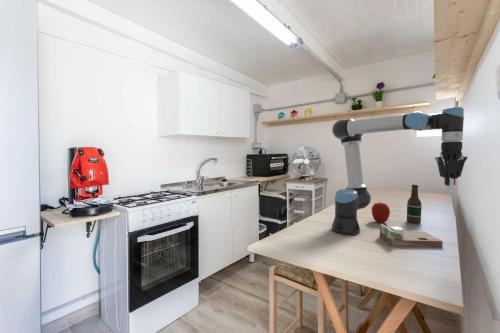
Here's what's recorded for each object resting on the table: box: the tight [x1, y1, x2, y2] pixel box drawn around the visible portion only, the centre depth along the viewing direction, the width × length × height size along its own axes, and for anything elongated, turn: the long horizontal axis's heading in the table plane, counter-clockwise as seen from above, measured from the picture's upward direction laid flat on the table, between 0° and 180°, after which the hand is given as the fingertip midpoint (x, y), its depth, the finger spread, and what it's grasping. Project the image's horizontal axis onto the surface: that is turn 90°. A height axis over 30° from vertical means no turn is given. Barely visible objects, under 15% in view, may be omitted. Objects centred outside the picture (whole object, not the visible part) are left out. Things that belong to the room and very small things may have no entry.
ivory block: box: [389, 226, 405, 237], centre depth 122 cm, size 4×4×4 cm
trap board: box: [379, 223, 444, 248], centre depth 122 cm, size 13×23×7 cm, turn 86°
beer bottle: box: [406, 184, 423, 225], centre depth 153 cm, size 8×8×24 cm
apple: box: [371, 202, 391, 224], centre depth 154 cm, size 10×10×14 cm
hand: (449, 192), depth 113 cm, fingers closed
